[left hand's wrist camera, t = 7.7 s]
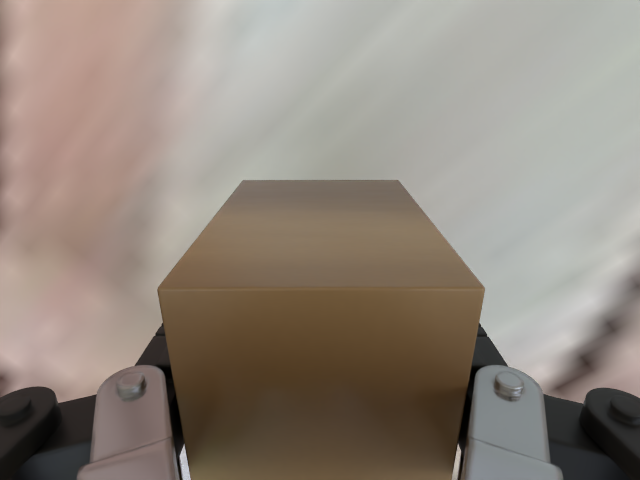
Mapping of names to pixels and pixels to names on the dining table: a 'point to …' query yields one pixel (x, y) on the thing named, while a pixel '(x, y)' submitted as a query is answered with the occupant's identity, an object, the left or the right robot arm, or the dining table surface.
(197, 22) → the dining table surface
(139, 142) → the dining table surface
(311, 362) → the bar
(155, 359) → the left robot arm
